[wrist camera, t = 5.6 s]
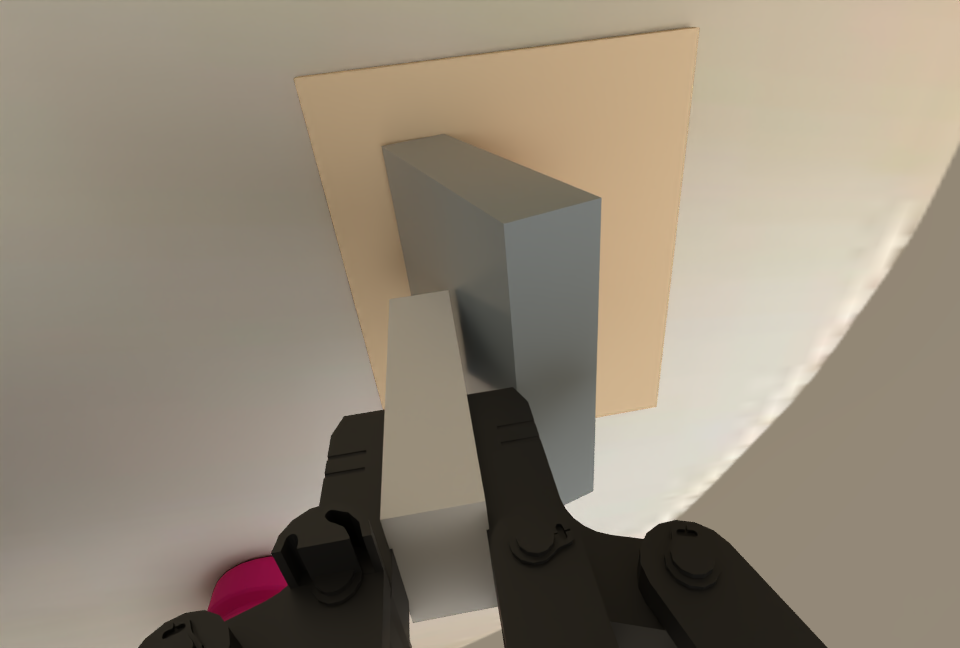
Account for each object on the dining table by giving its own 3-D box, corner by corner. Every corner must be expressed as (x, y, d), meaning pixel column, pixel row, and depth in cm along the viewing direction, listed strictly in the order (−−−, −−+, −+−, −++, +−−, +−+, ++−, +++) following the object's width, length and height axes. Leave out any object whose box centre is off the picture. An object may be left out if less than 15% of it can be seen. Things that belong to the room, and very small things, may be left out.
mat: (395, 444, 22) (395, 454, 22) (297, 76, 15) (293, 78, 14) (650, 398, 23) (656, 406, 23) (689, 27, 15) (699, 27, 15)
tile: (424, 362, 19) (527, 522, 13) (381, 146, 15) (503, 223, 8) (479, 343, 20) (602, 486, 13) (452, 131, 15) (614, 194, 9)
